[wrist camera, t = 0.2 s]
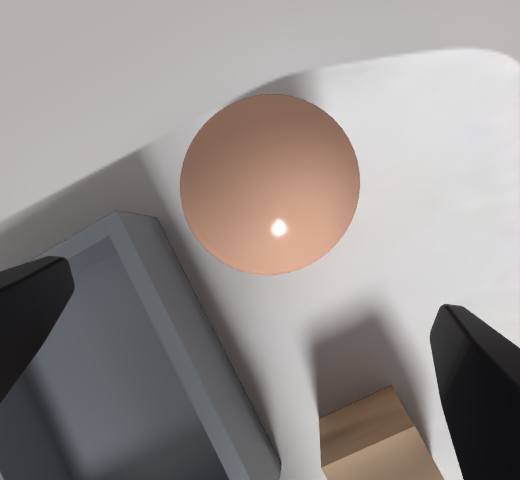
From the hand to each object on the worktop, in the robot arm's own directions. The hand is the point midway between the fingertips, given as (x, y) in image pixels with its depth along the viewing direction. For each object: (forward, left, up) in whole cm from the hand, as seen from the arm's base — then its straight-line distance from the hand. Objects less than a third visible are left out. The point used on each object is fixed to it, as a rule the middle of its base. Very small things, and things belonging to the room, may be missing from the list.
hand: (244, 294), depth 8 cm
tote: (-2, +13, -14) cm, 20 cm away
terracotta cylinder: (+2, -2, -14) cm, 15 cm away
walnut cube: (-12, 0, -14) cm, 19 cm away
